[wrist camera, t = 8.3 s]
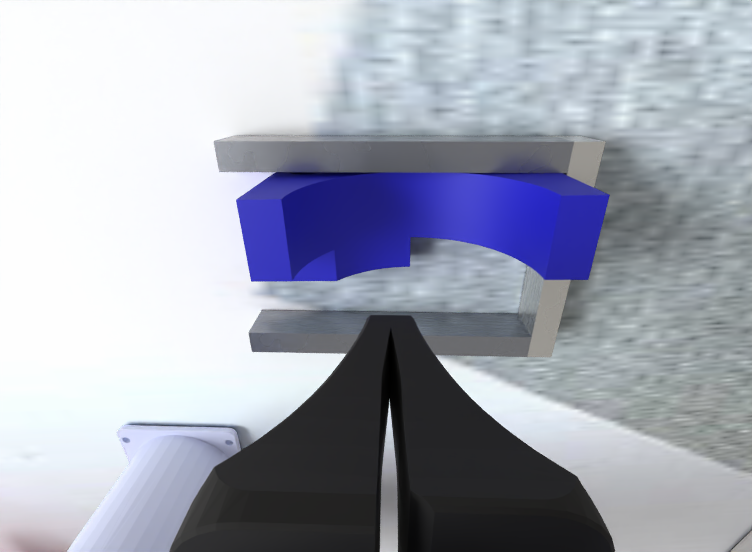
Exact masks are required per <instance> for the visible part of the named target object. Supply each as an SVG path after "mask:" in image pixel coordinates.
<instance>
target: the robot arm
mask: <svg viewBox="0 0 752 552" xmlns="http://www.w3.org/2000/svg"><path fill="white" fill-rule="evenodd" d="M389 398H390V408H391V418H392V428H393V438H394V447H395V457H396V468H397V491H398V552H615V549H614V545H613V541H612V537H611V535H610V533H609V531H608V529H607V527H606V525H605V523H604V521H603V519H602V517H601V515H600V513H599V512H598V510H597V508H596V506H595V505H594V503H593V501H592V500H591V498H590V497H589V495H588V493H587V492H586V490H585V489H584V487H583V486H582V484H581V482H580V481H579V479H578V477H577V476H575V475H574V474H572V473H570V472H569V471H567V470H566V469H564V468H562V467H561V466H559V465H558V464H556V463H555V462H553V461H551V460H550V459H548V458H547V457H545V456H543V455H542V454H540V453H539V452H537V451H536V450H534V449H533V448H531V447H530V446H528V445H527V444H526V443H524V442H523V441H521V440H520V439H519V438H517V437H516V436H515V435H513V434H512V433H511V432H509V431H508V430H507V429H505V428H504V427H503V426H502V425H501V424H499V423H498V422H497V421H496V420H495V419H493V418H492V417H491V416H490V415H489V414H488V413H486V412H485V411H484V410H483V409H482V408H481V407H480V406H479V405H478V404H477V403H475V402H474V401H473V400H472V399H471V398H470V397H469V396H468V394H467V393H466V392H465V391H464V390H463V389H462V388H461V387H460V386H459V385H458V384H457V383H456V381H455V380H454V379H453V378H452V377H451V375H450V374H449V373H448V372H447V370H446V369H445V368H444V367H443V365H442V364H441V363H440V361H439V360H438V359H437V357H436V356H435V354H434V353H433V351H432V350H431V348H430V347H429V345H428V344H427V342H426V341H425V339H424V337H423V336H422V334H421V332H420V330H419V328H418V326H417V324H416V322H415V320H414V318H413V317H412V316H411V315H370V316H369V317H368V318H367V319H366V322H365V324H364V326H363V328H362V330H361V332H360V334H359V336H358V337H357V339H356V341H355V342H354V344H353V345H352V347H351V348H350V350H349V351H348V353H347V354H346V356H345V357H344V358H343V360H342V361H341V362H340V364H339V365H338V366H337V368H336V369H335V370H334V371H333V373H332V374H331V375H330V376H329V377H328V379H327V380H326V381H325V382H324V383H323V384H322V385H321V386H320V387H319V388H318V389H317V391H316V392H315V393H314V394H313V395H312V396H311V397H309V398H308V399H307V400H306V401H305V402H304V403H303V404H302V405H301V406H300V407H299V408H298V409H297V410H295V411H294V412H293V413H292V414H291V415H290V416H289V417H287V418H286V419H285V420H284V421H282V422H281V423H280V424H278V425H277V426H276V427H274V428H273V429H272V430H270V431H269V432H268V433H267V434H265V435H264V436H263V437H261V438H260V439H258V440H257V441H255V442H254V443H252V444H251V445H249V446H247V447H246V448H244V449H243V450H241V448H240V443H239V439H238V435H237V432H236V431H235V430H234V429H232V428H220V427H179V426H138V425H123V426H121V427H120V428H119V429H118V431H117V435H118V437H119V440H120V442H121V444H122V447H123V449H124V451H125V454H126V456H127V458H128V461H129V464H128V465H127V467H126V468H125V469H124V471H123V472H122V474H121V475H120V477H119V478H118V479H117V481H116V482H115V484H114V485H113V487H112V488H111V489H110V491H109V492H108V494H107V495H106V496H105V498H104V499H103V501H102V502H101V504H100V505H99V506H98V508H97V509H96V511H95V512H94V513H93V515H92V516H91V518H90V519H89V521H88V522H87V523H86V525H85V526H84V528H83V529H82V531H81V532H80V533H79V535H78V536H77V538H76V539H75V540H74V542H73V543H72V545H71V546H70V548H69V549H68V550H67V552H380V507H381V475H382V463H383V453H384V444H385V435H386V426H387V417H388V408H389Z"/></svg>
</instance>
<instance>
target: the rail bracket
mask: <svg viewBox="0 0 752 552" xmlns="http://www.w3.org/2000/svg"><path fill="white" fill-rule="evenodd" d="M605 143H606V142H605V141H601V140H596V139H592V138H587V137H583V136H231V137H227V138H224V139H220V140H216V141H214V146H215V151H216V157H217V162H218V167H219V172H402V173H563V174H565V175H567V176H569V177H572V178H574V179H576V180H578V181H580V182H583V183H585V184H587V185H589V186H591V187H593V188H594V186H595V182H596V178H597V174H598V170H599V166H600V162H601V158H602V154H603V150H604V147H605ZM570 281H571V280H544V279H543V278H542V277H541V275H540V274H538V273H537V272H536V271H535V270H534V269H532V268H531V267H529V266H528V265H527V269H526V275H525V280H524V285H523V290H522V296H521V301H520V306H519V311H518V314H493V313H426V312H359V311H292V310H262V311H261V312H260V314H259V316H258V318H257V319H256V321H255V323H254V324H253V326H252V328H251V329H250V331H249V337H250V343H251V348H252V352H294V353H348V351H349V350H350V348H351V347H352V345H353V344H354V342H355V341H356V339H357V337H358V336H359V334H360V332H361V330H362V328H363V326H364V324H365V322H366V319H367V318H368V317H369V316H370V315H411V316H412V317H413V318H414V320H415V322H416V324H417V326H418V328H419V330H420V332H421V334H422V336H423V337H424V339H425V341H426V342H427V344H428V345H429V347H430V348H431V350H432V351H433V353H434V354H435V355H457V356H512V357H551V356H552V352H553V348H554V344H555V340H556V336H557V332H558V328H559V324H560V321H561V317H562V313H563V309H564V305H565V301H566V297H567V293H568V289H569V285H570Z"/></svg>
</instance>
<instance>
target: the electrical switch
mask: <svg viewBox="0 0 752 552" xmlns="http://www.w3.org/2000/svg"><path fill="white" fill-rule="evenodd" d="M730 552H752V531H751V532H750V533H749V534H748V535H747V536H746V537H745V538H744V539H742V540H741V541H740V542H739V543H738V544H737V545H736V546H735V547H734V548H733V549H732V550H731V551H730Z"/></svg>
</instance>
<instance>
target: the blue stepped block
mask: <svg viewBox="0 0 752 552" xmlns="http://www.w3.org/2000/svg"><path fill="white" fill-rule="evenodd" d="M609 196H610V195H609V194H606V193H604V192H602V191H600V190H598V189H596V188H593V187H591V186H589V185H587V184H585V183H583V182H580V181H578V180H576V179H574V178H572V177H569V176H567V175H565V174H563V173H402V172H275V173H274V174H273V175H271V176H270V177H268V178H267V179H265V180H264V181H263V182H261V183H260V184H258V185H257V186H255V187H254V188H252V189H251V190H250V191H248V192H247V193H245V194H244V195H242V196H241V197H240V198H238V199H237V200H236V202H237V208H238V213H239V218H240V224H241V229H242V234H243V240H244V245H245V250H246V256H247V261H248V266H249V272H250V277H251V281H338V280H340V279H343V278H345V277H348V276H351V275H354V274H358V273H361V272H365V271H370V270H375V269H382V268H391V267H410V237H426V238H440V239H449V240H456V241H462V242H467V243H472V244H476V245H480V246H484V247H487V248H491V249H494V250H497V251H499V252H502V253H505V254H507V255H509V256H511V257H514V258H516V259H518V260H519V261H521V262H523V263H525V264H526V265H528V266H529V267H531V268H532V269H534V270H535V271H536V272H537V273H538V274H540V275H541V277H542V278H543V279H544V280H588V278H589V275H590V271H591V267H592V263H593V259H594V255H595V251H596V247H597V243H598V239H599V235H600V231H601V227H602V223H603V219H604V215H605V211H606V207H607V204H608V200H609Z"/></svg>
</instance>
